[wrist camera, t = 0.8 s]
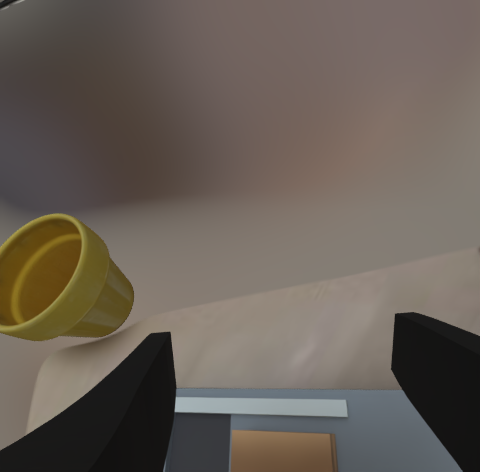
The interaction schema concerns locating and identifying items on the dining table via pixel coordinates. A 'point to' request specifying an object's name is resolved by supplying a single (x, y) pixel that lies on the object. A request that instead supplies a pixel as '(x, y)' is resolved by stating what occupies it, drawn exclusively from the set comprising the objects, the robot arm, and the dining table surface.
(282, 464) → the block
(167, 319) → the dining table surface
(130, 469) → the robot arm
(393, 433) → the channel
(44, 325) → the plant pot
